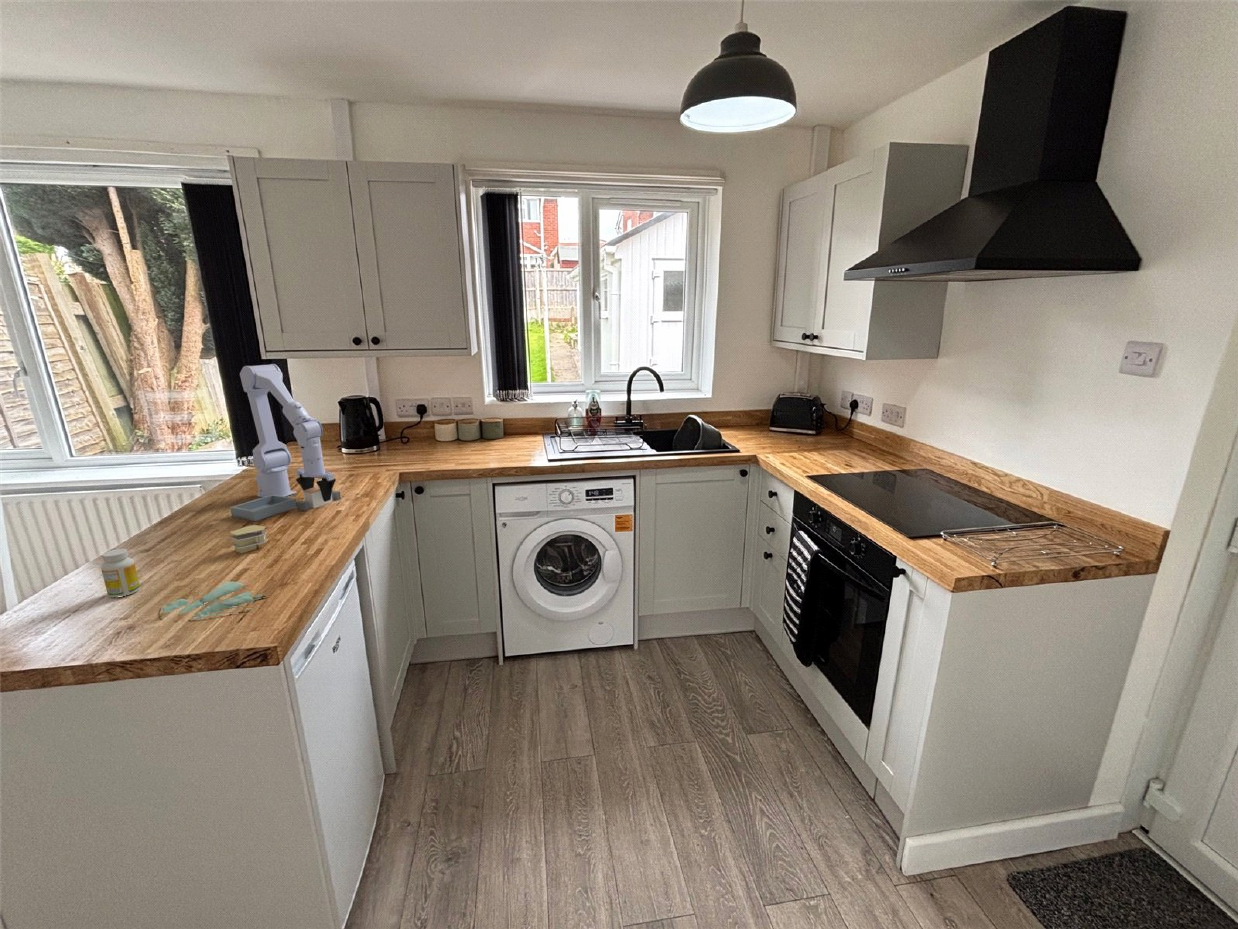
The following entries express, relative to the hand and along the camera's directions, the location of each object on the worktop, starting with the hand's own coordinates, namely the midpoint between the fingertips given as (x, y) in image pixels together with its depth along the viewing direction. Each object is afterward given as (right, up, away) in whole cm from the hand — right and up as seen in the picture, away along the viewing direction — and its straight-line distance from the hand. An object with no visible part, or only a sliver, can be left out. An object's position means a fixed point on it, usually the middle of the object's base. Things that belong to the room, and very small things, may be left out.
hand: (318, 499), depth 176 cm
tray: (-13, -4, -7) cm, 15 cm away
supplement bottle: (-11, -17, -57) cm, 60 cm away
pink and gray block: (0, -2, 0) cm, 2 cm away
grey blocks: (0, -2, 0) cm, 2 cm away
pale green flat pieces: (+13, -19, -60) cm, 65 cm away
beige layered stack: (+1, -11, -34) cm, 35 cm away
